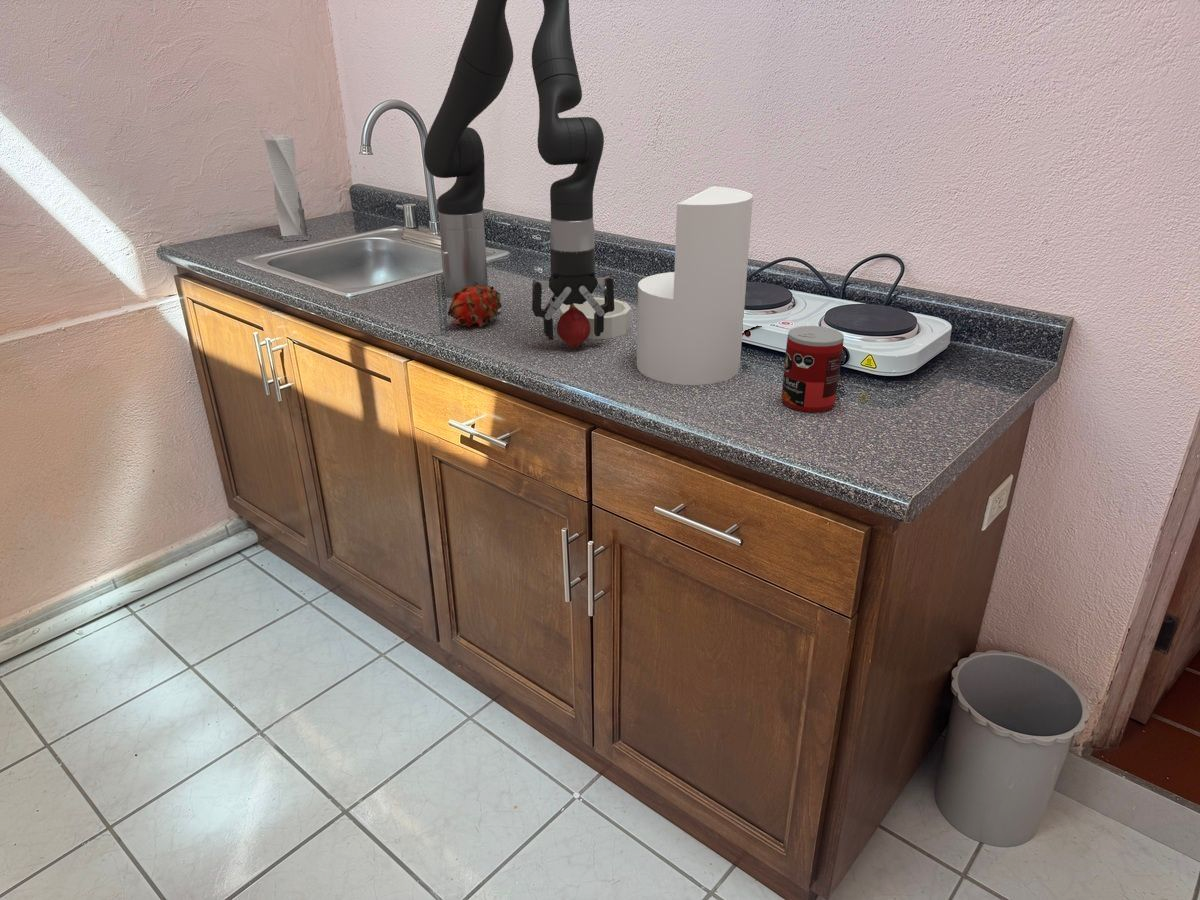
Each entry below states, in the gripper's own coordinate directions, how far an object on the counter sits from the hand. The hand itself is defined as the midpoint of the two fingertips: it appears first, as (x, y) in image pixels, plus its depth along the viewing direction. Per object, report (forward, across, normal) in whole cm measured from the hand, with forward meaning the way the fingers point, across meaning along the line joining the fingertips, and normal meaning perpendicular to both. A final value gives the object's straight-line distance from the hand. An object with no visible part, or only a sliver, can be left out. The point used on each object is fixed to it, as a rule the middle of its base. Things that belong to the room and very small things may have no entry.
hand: (573, 336), depth 149 cm
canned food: (+2, -30, +32) cm, 44 cm away
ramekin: (+2, -6, -10) cm, 12 cm away
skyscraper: (+2, +58, -104) cm, 119 cm away
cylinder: (+2, -17, +13) cm, 22 cm away
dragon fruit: (+2, +16, -17) cm, 23 cm away
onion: (+2, 0, 0) cm, 2 cm away
